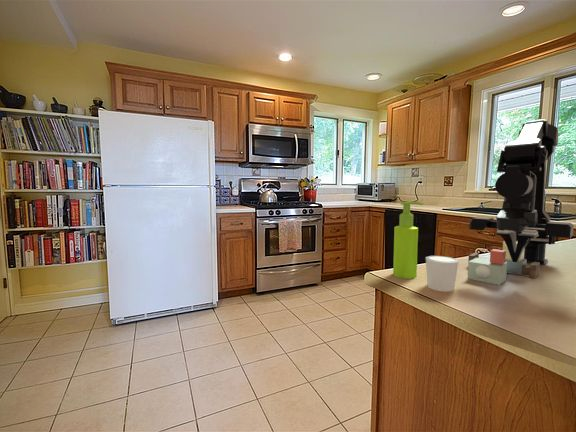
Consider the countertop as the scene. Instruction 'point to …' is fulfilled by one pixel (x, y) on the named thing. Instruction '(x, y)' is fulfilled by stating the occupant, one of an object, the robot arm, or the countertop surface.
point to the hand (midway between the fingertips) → (514, 261)
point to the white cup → (441, 272)
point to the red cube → (497, 256)
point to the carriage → (514, 266)
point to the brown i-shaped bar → (527, 270)
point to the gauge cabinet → (487, 271)
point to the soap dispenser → (405, 244)
